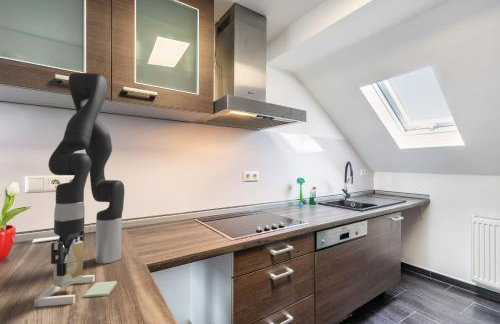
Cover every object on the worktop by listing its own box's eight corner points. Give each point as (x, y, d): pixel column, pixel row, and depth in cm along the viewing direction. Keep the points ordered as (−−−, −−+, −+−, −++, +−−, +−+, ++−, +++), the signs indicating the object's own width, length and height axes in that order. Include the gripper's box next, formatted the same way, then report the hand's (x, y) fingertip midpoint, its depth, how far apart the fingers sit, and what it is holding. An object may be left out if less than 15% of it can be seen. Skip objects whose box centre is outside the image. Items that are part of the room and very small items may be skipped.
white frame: (62, 283, 79) (62, 277, 79) (94, 280, 81) (94, 274, 81) (34, 307, 65) (34, 299, 65) (73, 303, 67) (73, 296, 67)
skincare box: (61, 288, 70) (62, 247, 70) (52, 285, 71) (53, 245, 71) (83, 279, 76) (84, 240, 76) (74, 276, 77) (75, 239, 77)
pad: (95, 284, 78) (95, 282, 78) (117, 282, 79) (117, 280, 79) (83, 297, 70) (83, 295, 70) (107, 295, 72) (107, 293, 72)
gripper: (68, 212, 80) (67, 261, 80) (40, 222, 66) (39, 282, 66) (93, 211, 81) (92, 259, 81) (70, 221, 67) (69, 279, 67)
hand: (68, 269), depth 73 cm, fingers closed on skincare box, 7 cm apart
